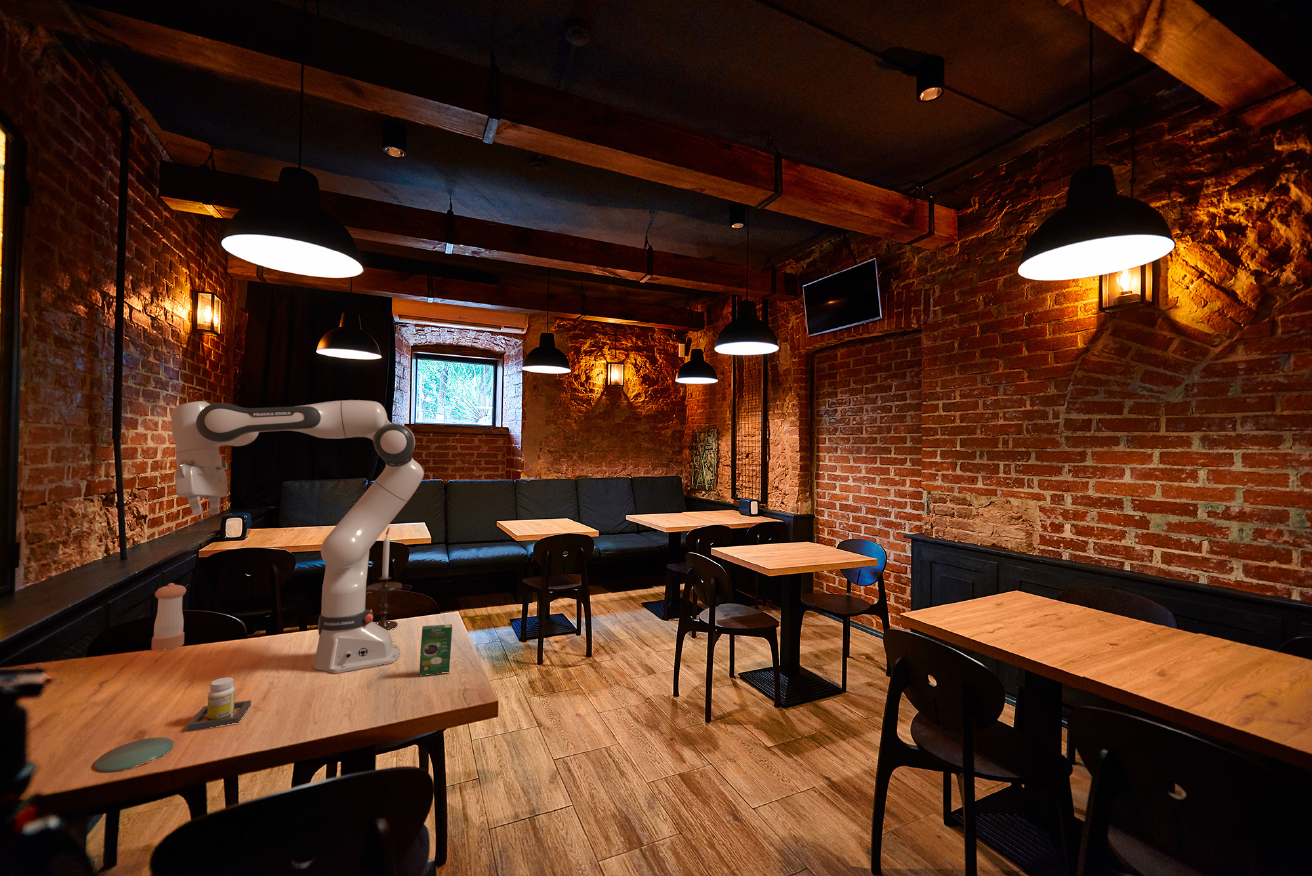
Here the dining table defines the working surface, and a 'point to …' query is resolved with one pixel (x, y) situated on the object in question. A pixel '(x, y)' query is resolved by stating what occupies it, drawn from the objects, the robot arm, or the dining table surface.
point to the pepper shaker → (169, 618)
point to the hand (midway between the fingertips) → (206, 514)
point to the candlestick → (385, 587)
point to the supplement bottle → (221, 699)
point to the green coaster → (133, 754)
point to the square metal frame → (198, 724)
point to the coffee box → (435, 649)
